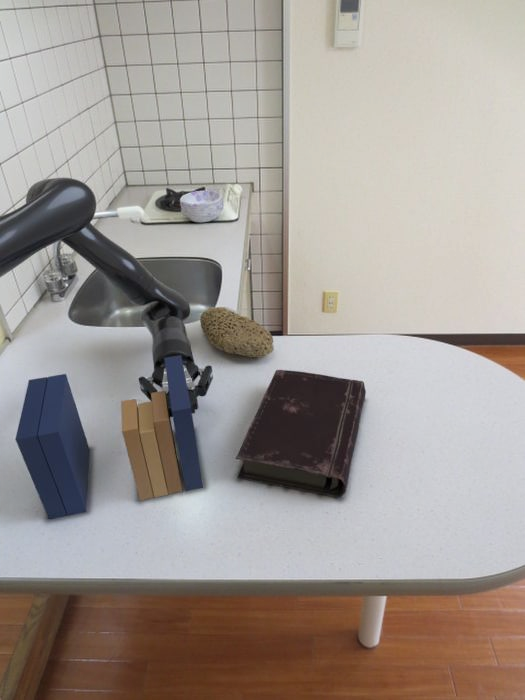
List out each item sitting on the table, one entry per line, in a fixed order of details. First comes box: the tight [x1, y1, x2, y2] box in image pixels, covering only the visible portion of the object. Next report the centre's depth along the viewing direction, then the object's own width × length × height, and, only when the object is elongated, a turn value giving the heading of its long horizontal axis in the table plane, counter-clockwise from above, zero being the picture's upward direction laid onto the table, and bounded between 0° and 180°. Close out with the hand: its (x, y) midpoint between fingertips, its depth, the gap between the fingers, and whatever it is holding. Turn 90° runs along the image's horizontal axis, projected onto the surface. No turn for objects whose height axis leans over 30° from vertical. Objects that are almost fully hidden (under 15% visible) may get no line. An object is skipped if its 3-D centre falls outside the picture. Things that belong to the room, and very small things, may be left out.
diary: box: [235, 369, 367, 498], centre depth 93 cm, size 19×25×5 cm
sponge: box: [199, 306, 274, 358], centre depth 118 cm, size 13×8×20 cm
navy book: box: [164, 355, 204, 492], centre depth 86 cm, size 3×14×17 cm, turn 13°
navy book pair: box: [15, 373, 91, 520], centre depth 83 cm, size 6×14×17 cm, turn 13°
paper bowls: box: [179, 189, 225, 224], centre depth 187 cm, size 15×15×8 cm
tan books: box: [121, 390, 183, 501], centre depth 83 cm, size 7×7×16 cm
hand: (181, 410), depth 87 cm, fingers open, 3 cm apart
